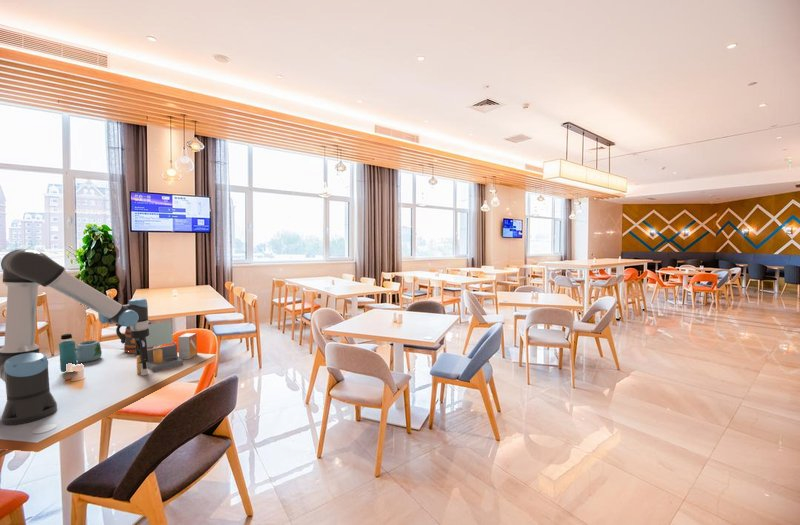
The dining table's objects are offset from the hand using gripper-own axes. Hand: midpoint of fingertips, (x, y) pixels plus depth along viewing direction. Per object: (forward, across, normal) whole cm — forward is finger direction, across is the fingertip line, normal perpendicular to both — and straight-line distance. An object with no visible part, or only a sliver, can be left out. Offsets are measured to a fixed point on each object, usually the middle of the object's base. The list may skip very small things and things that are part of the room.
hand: (142, 372), depth 184 cm
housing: (0, +4, -11) cm, 12 cm away
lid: (-15, +13, -11) cm, 23 cm away
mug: (0, +43, +18) cm, 47 cm away
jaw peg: (0, 0, 0) cm, 0 cm away
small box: (+1, +10, -24) cm, 26 cm away
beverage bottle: (0, +27, +26) cm, 38 cm away
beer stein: (+1, +47, -5) cm, 47 cm away
